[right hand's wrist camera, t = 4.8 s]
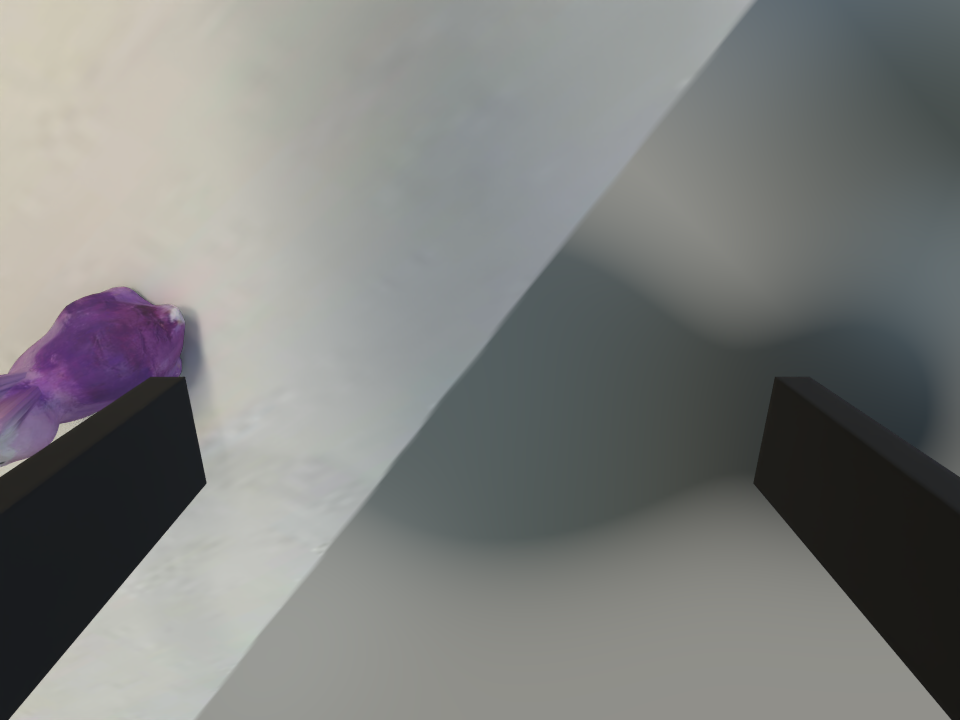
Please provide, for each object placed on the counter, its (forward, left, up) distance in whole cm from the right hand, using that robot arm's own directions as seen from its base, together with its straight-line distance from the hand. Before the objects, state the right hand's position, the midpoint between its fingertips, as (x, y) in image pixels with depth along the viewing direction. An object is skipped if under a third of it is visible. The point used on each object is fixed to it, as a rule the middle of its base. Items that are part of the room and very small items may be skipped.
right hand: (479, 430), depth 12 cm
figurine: (+8, -26, -28) cm, 39 cm away
